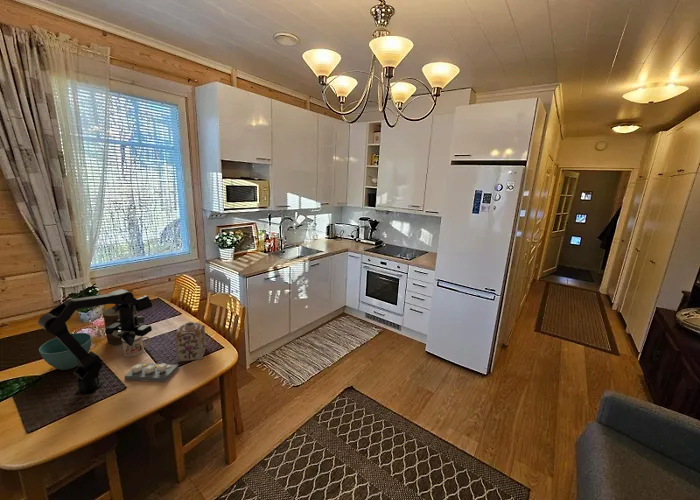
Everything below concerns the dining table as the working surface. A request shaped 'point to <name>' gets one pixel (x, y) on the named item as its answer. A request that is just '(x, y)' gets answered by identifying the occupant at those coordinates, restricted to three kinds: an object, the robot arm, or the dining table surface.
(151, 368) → the button middle
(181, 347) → the decorative jar
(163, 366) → the white lever knob
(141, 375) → the board
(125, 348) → the teacup with lid
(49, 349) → the teal bowl
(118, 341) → the wooden container
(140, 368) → the button inner
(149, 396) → the dining table surface
